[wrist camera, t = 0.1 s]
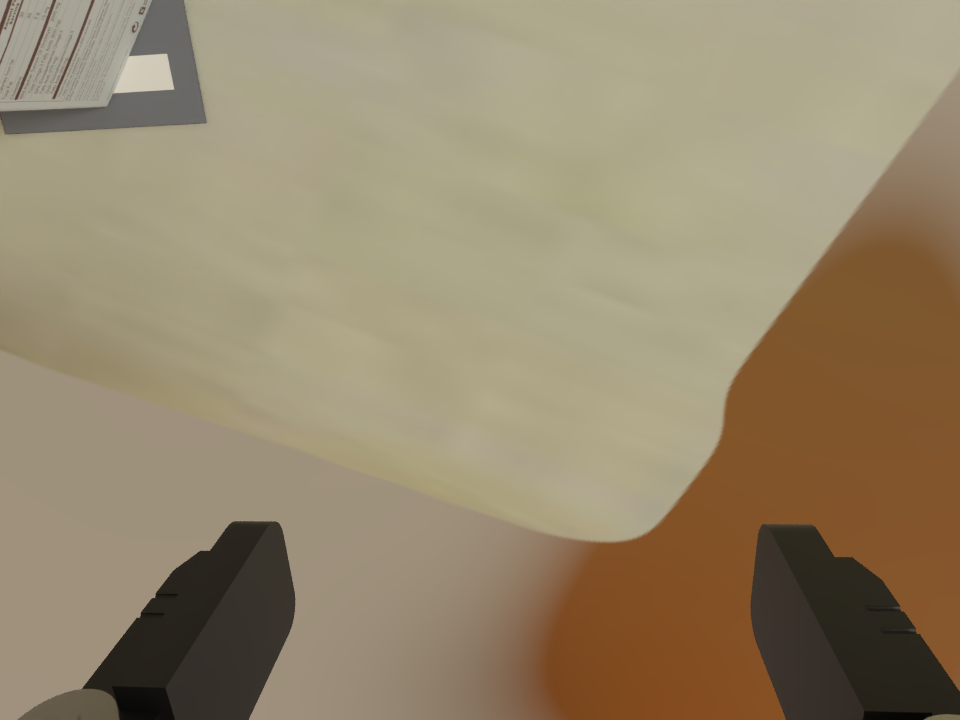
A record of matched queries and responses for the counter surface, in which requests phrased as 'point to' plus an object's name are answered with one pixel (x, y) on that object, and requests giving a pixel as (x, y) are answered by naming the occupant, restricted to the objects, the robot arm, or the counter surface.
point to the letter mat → (136, 83)
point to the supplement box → (65, 51)
